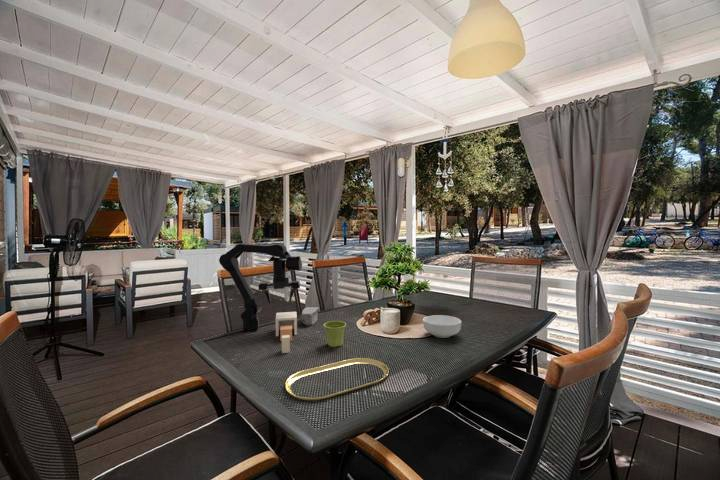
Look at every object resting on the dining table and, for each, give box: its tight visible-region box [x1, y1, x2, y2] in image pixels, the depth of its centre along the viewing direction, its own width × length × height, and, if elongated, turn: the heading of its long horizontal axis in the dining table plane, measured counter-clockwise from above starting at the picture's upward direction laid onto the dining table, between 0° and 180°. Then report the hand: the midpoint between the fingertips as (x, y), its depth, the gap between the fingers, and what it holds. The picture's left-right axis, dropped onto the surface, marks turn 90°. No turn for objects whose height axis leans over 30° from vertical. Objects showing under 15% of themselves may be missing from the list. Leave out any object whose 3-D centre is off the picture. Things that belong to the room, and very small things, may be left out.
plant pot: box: [323, 320, 347, 348], centre depth 132 cm, size 9×9×9 cm
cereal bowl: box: [422, 314, 462, 339], centre depth 144 cm, size 17×17×7 cm
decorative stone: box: [300, 306, 320, 327], centre depth 164 cm, size 15×7×10 cm
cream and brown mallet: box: [279, 325, 293, 354], centre depth 133 cm, size 5×18×6 cm, turn 12°
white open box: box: [275, 311, 298, 337], centre depth 149 cm, size 9×10×8 cm
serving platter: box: [284, 357, 390, 401], centre depth 103 cm, size 19×35×2 cm, turn 120°
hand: (279, 303), depth 151 cm, fingers open, 9 cm apart
